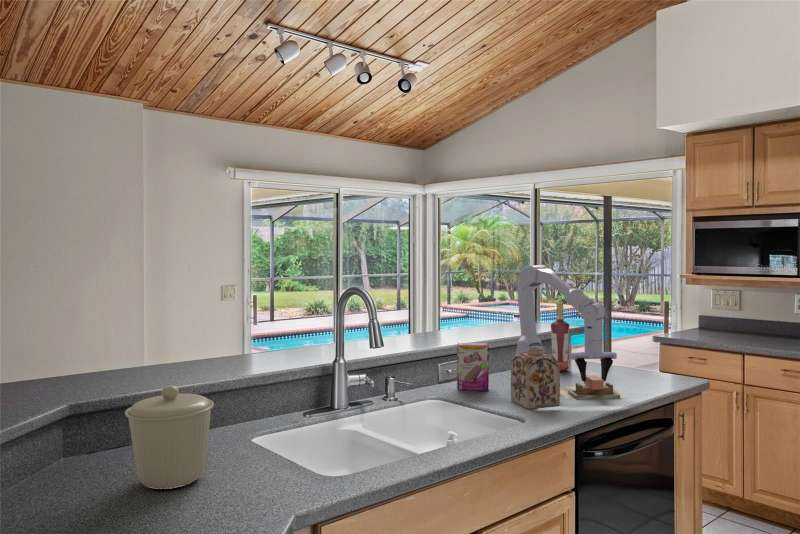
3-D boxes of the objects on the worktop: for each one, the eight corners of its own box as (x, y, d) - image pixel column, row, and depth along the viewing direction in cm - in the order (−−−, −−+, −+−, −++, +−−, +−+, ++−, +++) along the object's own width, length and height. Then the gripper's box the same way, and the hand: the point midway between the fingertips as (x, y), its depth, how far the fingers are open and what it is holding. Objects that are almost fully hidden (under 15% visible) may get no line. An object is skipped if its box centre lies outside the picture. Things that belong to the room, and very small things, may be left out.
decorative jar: (560, 406, 185) (560, 349, 184) (527, 410, 182) (527, 352, 181) (541, 397, 196) (541, 344, 196) (510, 400, 193) (509, 346, 193)
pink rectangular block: (592, 389, 189) (592, 380, 189) (584, 383, 197) (584, 375, 197) (603, 389, 189) (603, 380, 189) (594, 383, 197) (594, 374, 197)
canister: (187, 460, 141) (185, 373, 141) (232, 478, 130) (229, 383, 129) (111, 484, 127) (108, 388, 127) (153, 506, 116) (150, 400, 115)
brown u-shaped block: (579, 397, 191) (579, 385, 191) (575, 394, 195) (575, 383, 195) (613, 396, 191) (613, 385, 191) (608, 393, 195) (608, 382, 195)
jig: (567, 402, 189) (567, 396, 189) (552, 390, 206) (552, 384, 206) (628, 401, 190) (628, 394, 190) (609, 389, 206) (609, 383, 206)
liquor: (570, 373, 234) (569, 303, 233) (551, 372, 236) (550, 302, 235) (569, 369, 241) (568, 301, 241) (550, 368, 243) (550, 301, 242)
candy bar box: (457, 391, 207) (456, 344, 206) (457, 388, 212) (456, 342, 211) (489, 391, 206) (488, 345, 205) (488, 388, 211) (488, 342, 210)
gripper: (575, 342, 189) (575, 383, 189) (620, 341, 189) (620, 383, 189) (568, 338, 196) (568, 379, 196) (611, 337, 196) (611, 378, 196)
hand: (593, 380), depth 193 cm, fingers open, 6 cm apart
